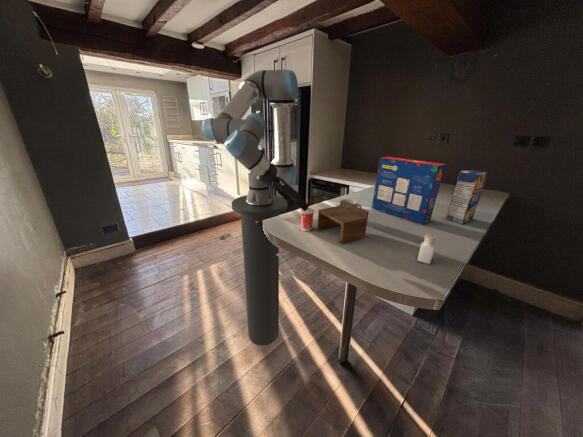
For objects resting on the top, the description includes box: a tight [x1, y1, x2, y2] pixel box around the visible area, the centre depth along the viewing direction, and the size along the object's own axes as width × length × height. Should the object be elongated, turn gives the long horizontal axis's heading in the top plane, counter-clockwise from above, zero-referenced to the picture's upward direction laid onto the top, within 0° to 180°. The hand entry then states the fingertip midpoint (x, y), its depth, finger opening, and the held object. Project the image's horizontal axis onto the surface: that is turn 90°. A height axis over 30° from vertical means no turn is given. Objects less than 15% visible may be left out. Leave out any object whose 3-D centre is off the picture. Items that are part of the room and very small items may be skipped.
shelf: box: [316, 200, 370, 245], centre depth 98 cm, size 16×13×11 cm
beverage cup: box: [299, 198, 315, 232], centre depth 100 cm, size 6×6×14 cm
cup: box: [340, 198, 363, 209], centre depth 116 cm, size 11×8×8 cm
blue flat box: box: [371, 156, 446, 226], centre depth 117 cm, size 28×8×28 cm, turn 38°
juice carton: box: [445, 169, 489, 225], centre depth 113 cm, size 12×8×24 cm, turn 124°
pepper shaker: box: [417, 233, 437, 265], centre depth 79 cm, size 4×4×10 cm
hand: (297, 203), depth 95 cm, fingers open, 13 cm apart
